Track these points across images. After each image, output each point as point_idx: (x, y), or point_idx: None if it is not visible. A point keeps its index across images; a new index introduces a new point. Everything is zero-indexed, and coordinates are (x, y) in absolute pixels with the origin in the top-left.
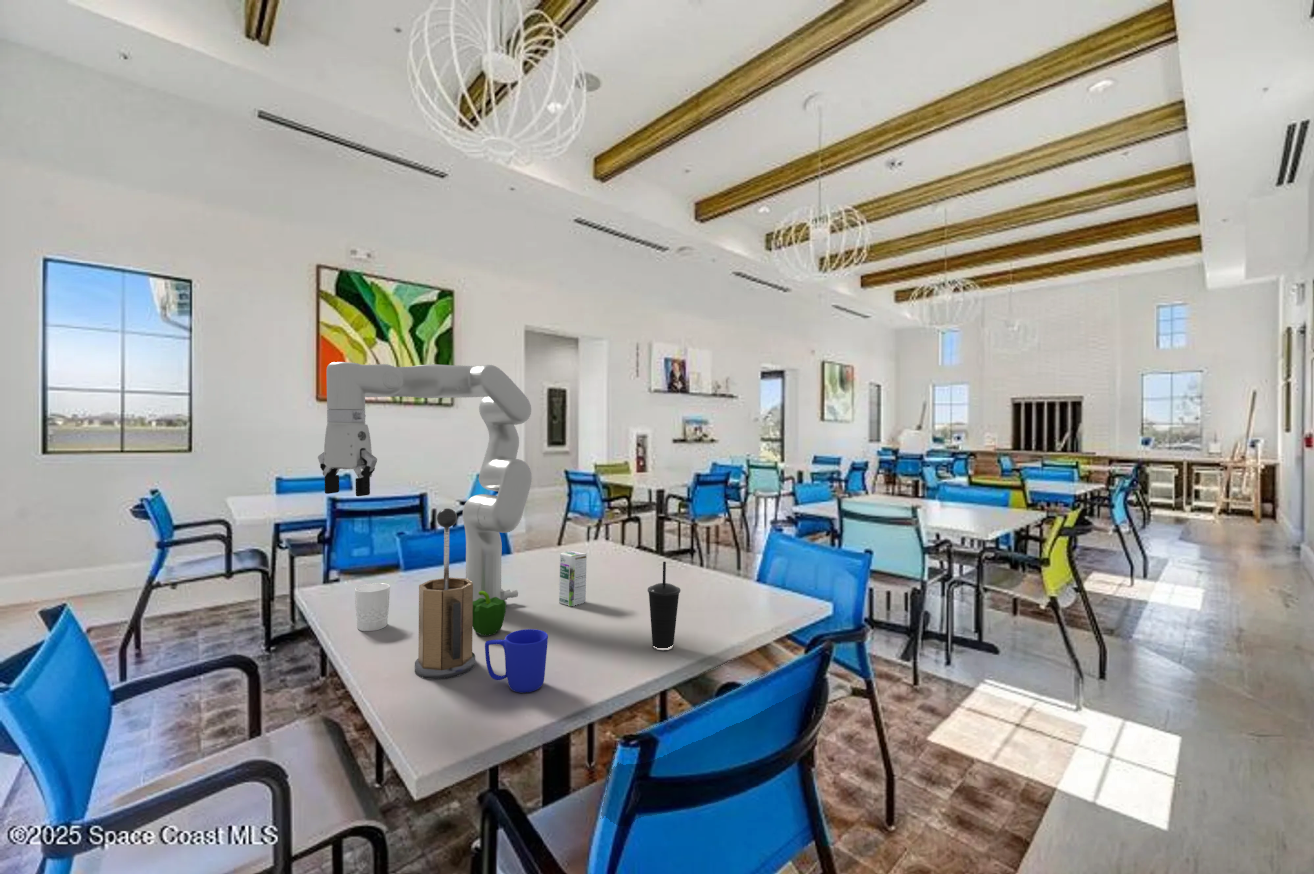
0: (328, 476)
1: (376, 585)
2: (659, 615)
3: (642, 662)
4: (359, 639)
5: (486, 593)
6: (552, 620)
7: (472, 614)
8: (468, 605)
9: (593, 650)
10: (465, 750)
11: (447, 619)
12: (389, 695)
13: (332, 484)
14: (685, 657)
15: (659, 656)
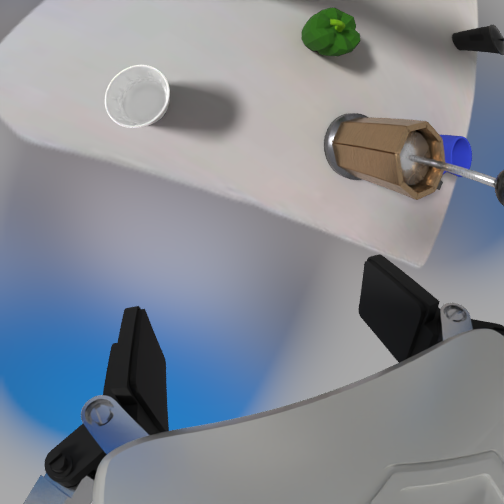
0: (160, 431)
1: (118, 78)
2: (484, 51)
3: (461, 75)
4: (181, 144)
5: (343, 24)
6: None
7: None
8: None
9: (430, 59)
10: (432, 238)
11: None
12: (352, 220)
13: (155, 374)
14: (472, 59)
15: (463, 61)
